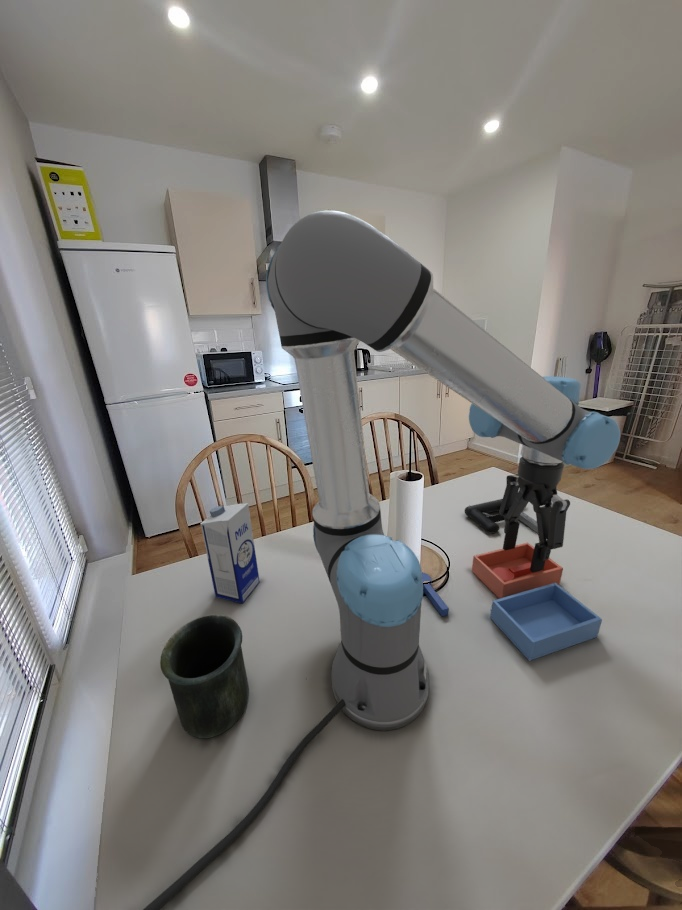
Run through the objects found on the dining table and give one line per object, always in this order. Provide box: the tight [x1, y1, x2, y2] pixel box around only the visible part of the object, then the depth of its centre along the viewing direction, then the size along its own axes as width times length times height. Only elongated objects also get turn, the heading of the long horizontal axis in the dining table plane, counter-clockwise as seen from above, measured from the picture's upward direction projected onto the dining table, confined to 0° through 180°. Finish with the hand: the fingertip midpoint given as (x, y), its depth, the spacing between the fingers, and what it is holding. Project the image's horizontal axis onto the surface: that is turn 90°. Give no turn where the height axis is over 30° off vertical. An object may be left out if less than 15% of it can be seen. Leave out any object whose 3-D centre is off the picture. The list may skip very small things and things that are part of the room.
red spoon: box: [492, 563, 532, 582], centre depth 77 cm, size 12×4×2 cm, turn 107°
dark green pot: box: [159, 614, 250, 739], centre depth 53 cm, size 11×15×12 cm
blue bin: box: [489, 583, 603, 662], centre depth 64 cm, size 15×10×4 cm, turn 107°
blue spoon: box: [422, 572, 450, 617], centre depth 73 cm, size 12×4×2 cm, turn 17°
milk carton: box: [200, 503, 261, 604], centre depth 74 cm, size 7×7×20 cm
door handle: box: [464, 498, 538, 534], centre depth 98 cm, size 3×20×16 cm
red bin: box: [471, 542, 564, 599], centre depth 77 cm, size 15×10×4 cm, turn 107°
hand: (522, 558), depth 76 cm, fingers open, 7 cm apart
